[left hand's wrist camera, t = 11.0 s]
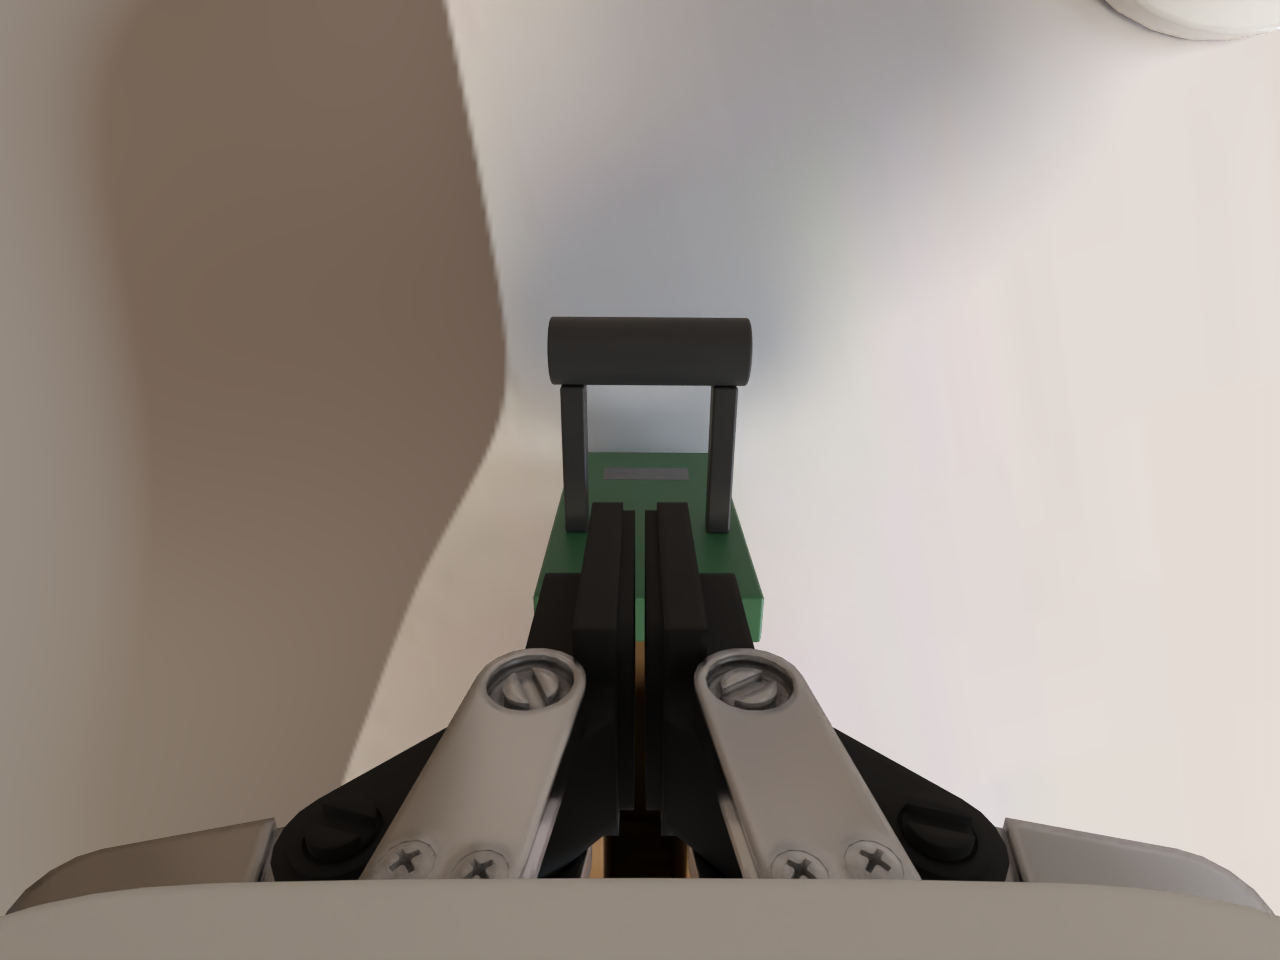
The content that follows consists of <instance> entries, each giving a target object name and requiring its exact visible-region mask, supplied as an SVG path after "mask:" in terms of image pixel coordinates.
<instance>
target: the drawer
mask: <svg viewBox="0 0 1280 960" xmlns="http://www.w3.org/2000/svg"><path fill="white" fill-rule="evenodd" d="M751 363H752V329H751V324H750V321H749V319H747V318H665V317H551V319H550V321H549V327H548V368H549V376H550V380H551V383H552V384H554V385H562V386H561V388H560V396H561V424H562V452H563V479H564V488H563V491H562V495H561V499H560V502H559V506H558V510H557V513H556V517H555V521H554V524H553V528H552V532H551V535H550V539H549V542H548V546H547V550H546V553H545V557H544V561H543V564H542V568H541V572H540V575H539V579H538V583H537V586H536V590H535V593H534V597H533V599H534V614H535V610H536V606H537V602H538V599H539V595H540V591H541V587H542V583H543V579H544V576H545V574H546V573H581V570H582V564H583V558H584V552H585V545H586V539H587V533H588V527H589V521H590V515H591V508H592V503H593V502H623V510H635V639H636V649H635V755H634V810H619V836H603V837H601V838H600V839H599V840H598V841H596V842H595V843H594V844H593V845H592V868H591V873H590V877H589V878H691V877H690V873H689V868H688V845H687V844H686V843H685V842H684V841H682V840H681V839H680V838H679V837H677V836H661V810H646V755H645V649H644V638H645V510H657V502H687V503H688V508H689V515H690V521H691V527H692V533H693V539H694V545H695V552H696V558H697V564H698V570H699V573H734V574H735V576H736V579H737V583H738V587H739V591H740V595H741V599H742V602H743V606H744V610H745V614H746V618H747V622H748V626H749V629H750V633H751V637H752V641H753V642H759V641H760V638H761V628H762V616H763V605H764V597H763V594H762V591H761V588H760V585H759V582H758V579H757V575H756V572H755V569H754V566H753V563H752V560H751V557H750V553H749V550H748V547H747V544H746V541H745V538H744V535H743V531H742V528H741V525H740V522H739V519H738V516H737V513H736V509H735V506H734V503H733V500H732V480H733V464H734V447H735V431H736V414H737V398H738V389H737V387H736V386H745V385H747V383H748V380H749V377H750V371H751ZM586 385H693V386H711V404H710V425H709V447H708V453H608V452H588V436H587V390H586Z"/></svg>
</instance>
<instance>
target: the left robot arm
mask: <svg viewBox="0 0 1280 960" xmlns="http://www.w3.org/2000/svg"><path fill="white" fill-rule="evenodd" d="M1105 1H1106V2H1108V3H1109V4H1110V5H1111V6H1112V7H1113V8H1114V9H1115V10H1116V11H1117V12H1119V13H1121V14H1123V15H1125V16H1126V17H1128V18H1130V19H1132V20H1134V21H1136V22H1137V23H1139V24H1141V25H1143V26H1145V27H1146V28H1148V29H1150V30H1153V31H1157V32H1161V33H1165V34H1168V35H1172V36H1176V37H1180V38H1184V39H1188V40H1229V41H1230V40H1235V39H1240V38H1246V37H1251V36H1256V35H1261V34H1266V33H1271V32H1275V31H1278V30H1280V0H1105ZM635 649H636V639H635V510H623V502H593V503H592V508H591V515H590V521H589V527H588V533H587V539H586V545H585V552H584V558H583V564H582V570H581V573H546V574H545V576H544V579H543V583H542V587H541V591H540V595H539V599H538V602H537V606H536V610H535V614H534V618H533V622H532V625H531V629H530V633H529V637H528V641H527V645H526V649H524V650H518V651H513V652H511V653H508V654H506V655H503V656H501V657H498V658H497V659H495V660H494V661H492V662H491V663H489V664H488V665H486V666H485V667H484V669H483V670H482V671H481V672H480V673H479V675H478V676H477V677H476V679H475V681H474V683H473V684H472V686H471V688H470V689H469V691H468V693H467V695H466V696H465V698H464V700H463V701H462V703H461V705H460V707H459V708H458V710H457V712H456V713H455V715H454V717H453V718H452V720H451V722H450V724H449V725H448V727H447V728H445V729H443V730H441V731H440V732H438V733H436V734H434V735H432V736H431V737H429V738H427V739H425V740H423V741H422V742H420V743H418V744H416V745H414V746H413V747H411V748H409V749H407V750H405V751H404V752H402V753H400V754H398V755H396V756H395V757H393V758H391V759H389V760H388V761H386V762H384V763H382V764H380V765H379V766H377V767H375V768H373V769H371V770H370V771H368V772H366V773H364V774H362V775H361V776H359V777H357V778H355V779H353V780H352V781H350V782H348V783H346V784H344V785H343V786H341V787H339V788H337V789H335V790H334V791H332V792H330V793H328V794H327V795H325V796H323V797H321V798H319V799H318V800H316V801H315V802H313V803H312V804H310V805H309V806H307V807H306V808H305V809H303V810H302V811H300V812H299V813H298V814H297V815H296V816H295V817H294V818H293V819H292V820H291V821H290V822H289V823H288V824H287V825H286V826H285V827H282V828H277V826H276V822H275V818H270V819H264V820H259V821H253V822H248V823H242V824H237V825H231V826H226V827H221V828H215V829H209V830H204V831H199V832H193V833H187V834H182V835H177V836H171V837H165V838H160V839H154V840H149V841H144V842H138V843H133V844H127V845H122V846H116V847H111V848H105V849H101V850H98V851H94V852H91V853H88V854H85V855H81V856H78V857H76V858H74V859H72V860H70V861H68V862H66V863H64V864H62V865H60V866H59V867H57V868H55V869H53V870H51V871H49V872H48V873H47V874H46V875H44V876H43V877H42V878H40V879H39V880H38V881H36V882H35V883H34V884H33V885H31V886H30V887H29V888H28V889H26V890H25V891H24V892H23V894H22V895H21V896H20V897H19V898H18V899H17V901H16V902H15V903H14V904H13V905H12V907H11V908H10V909H9V910H8V911H7V913H6V914H5V915H4V916H1V917H0V960H1280V917H1279V916H1276V915H1275V914H1274V913H1273V911H1272V910H1271V909H1270V908H1269V907H1268V905H1267V904H1266V903H1265V902H1264V901H1263V899H1262V898H1261V897H1260V896H1259V895H1258V894H1257V892H1256V891H1255V890H1254V889H1253V888H1251V887H1250V886H1249V885H1247V884H1246V883H1245V882H1244V881H1242V880H1241V879H1240V878H1238V877H1237V876H1236V875H1234V874H1233V873H1232V872H1231V871H1229V870H1227V869H1225V868H1223V867H1221V866H1220V865H1218V864H1216V863H1214V862H1212V861H1210V860H1208V859H1206V858H1204V857H1202V856H1199V855H1195V854H1192V853H1189V852H1186V851H1182V850H1179V849H1175V848H1169V847H1164V846H1158V845H1153V844H1147V843H1142V842H1136V841H1131V840H1126V839H1120V838H1115V837H1109V836H1104V835H1098V834H1093V833H1087V832H1082V831H1076V830H1071V829H1065V828H1060V827H1054V826H1049V825H1043V824H1038V823H1032V822H1027V821H1021V820H1016V819H1010V818H1005V822H1004V826H1003V828H998V827H995V826H994V825H993V824H992V823H991V822H990V821H989V820H988V819H987V818H986V817H985V816H984V815H983V814H982V813H981V812H980V811H978V810H977V809H975V808H974V807H973V806H971V805H970V804H968V803H967V802H965V801H964V800H962V799H961V798H959V797H957V796H955V795H953V794H952V793H950V792H948V791H946V790H945V789H943V788H941V787H939V786H937V785H936V784H934V783H932V782H930V781H928V780H927V779H925V778H923V777H921V776H919V775H918V774H916V773H914V772H912V771H910V770H909V769H907V768H905V767H903V766H901V765H900V764H898V763H896V762H894V761H892V760H891V759H889V758H887V757H885V756H884V755H882V754H880V753H878V752H876V751H875V750H873V749H871V748H869V747H867V746H866V745H864V744H862V743H860V742H858V741H857V740H855V739H853V738H851V737H849V736H848V735H846V734H844V733H842V732H840V731H839V730H837V729H835V728H833V727H832V725H831V724H830V722H829V720H828V718H827V717H826V715H825V713H824V712H823V710H822V708H821V707H820V705H819V703H818V701H817V700H816V698H815V696H814V695H813V693H812V691H811V689H810V688H809V686H808V684H807V683H806V681H805V679H804V677H803V676H802V675H801V673H800V672H799V671H798V670H797V669H796V667H795V666H794V665H792V664H791V663H789V662H788V661H786V660H785V659H783V658H782V657H779V656H777V655H774V654H772V653H769V652H767V651H762V650H756V649H754V645H753V641H752V637H751V633H750V629H749V626H748V622H747V618H746V614H745V610H744V606H743V602H742V599H741V595H740V591H739V587H738V583H737V579H736V576H735V574H734V573H699V570H698V564H697V558H696V552H695V545H694V539H693V533H692V527H691V521H690V515H689V508H688V503H687V502H657V510H645V638H644V649H645V755H646V810H661V836H677V837H679V838H680V839H681V840H682V841H684V842H685V843H686V844H687V845H688V868H689V873H690V877H691V878H589V877H590V873H591V868H592V845H593V844H594V843H595V842H596V841H598V840H599V839H600V838H601V837H603V836H619V810H634V755H635Z"/></svg>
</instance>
